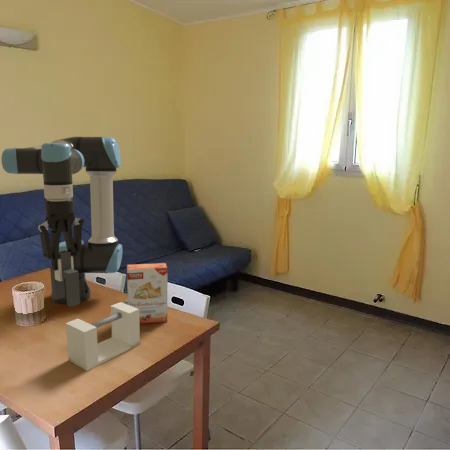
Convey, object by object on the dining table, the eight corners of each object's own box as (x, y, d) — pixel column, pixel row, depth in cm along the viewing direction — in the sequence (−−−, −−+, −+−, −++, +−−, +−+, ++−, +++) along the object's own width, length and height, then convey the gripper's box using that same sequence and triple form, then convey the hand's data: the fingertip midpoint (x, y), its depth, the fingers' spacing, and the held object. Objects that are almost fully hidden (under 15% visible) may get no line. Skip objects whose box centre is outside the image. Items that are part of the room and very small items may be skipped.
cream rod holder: (68, 360, 123) (65, 323, 121) (121, 335, 139) (120, 302, 136) (86, 370, 118) (84, 332, 115) (140, 343, 134) (139, 309, 131)
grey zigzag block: (52, 298, 124) (48, 250, 121) (61, 295, 127) (58, 248, 123) (70, 307, 118) (67, 256, 115) (80, 303, 121) (77, 254, 117)
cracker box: (128, 325, 146) (126, 269, 141) (128, 318, 152) (126, 263, 147) (168, 322, 149) (167, 267, 145) (166, 315, 155) (166, 261, 150)
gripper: (38, 204, 108) (45, 289, 113) (92, 197, 120) (96, 274, 125) (24, 200, 112) (31, 282, 117) (77, 194, 124) (81, 269, 129)
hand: (64, 278), depth 121 cm, fingers closed on grey zigzag block, 3 cm apart
